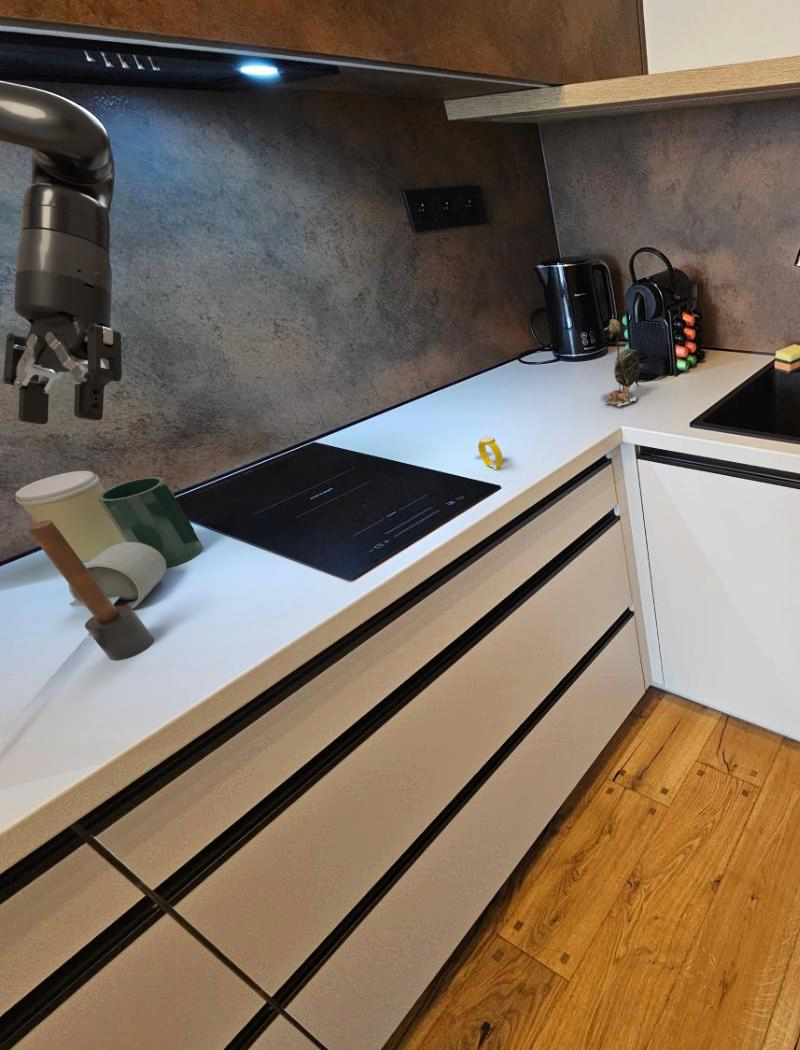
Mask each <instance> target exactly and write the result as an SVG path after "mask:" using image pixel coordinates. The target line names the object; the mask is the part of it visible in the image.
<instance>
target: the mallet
mask: <svg viewBox="0 0 800 1050" xmlns="http://www.w3.org/2000/svg"><path fill="white" fill-rule="evenodd" d="M26 530H27V531H28V533H29V534H30V535H31V536H32V538H33V539H34V540H35V542H36V543H37V544H38V545H39V547H40V548H41V549H42V551H43V552H44V553H45V554H46V555H47V558H48V559H49V561H51V562H52V564H53V565H54V567H55V568H56V569H57V570H58V572H59V573H60V574H61V575H62V577H63V578H64V579H65V581H66V582H67V583H68V585H69V584H70V586H71V587H72V588H73V590H74V591H75V592H76V594H77V595H78V596H79V597H80V599H81V600H82V601H83V603H84V604H85V605H86V607H85V608H86V609H88V611H89V612H90V613H91V614H92V616H91V617H90V618H89V619H88V620H87V621H86V622H85V624H84V628H85V629H86V631H87V632H88V633H89V635H90V636H91V637H92V638H93V640H94V641H95V642H96V643H97V644H98V646H99V647H100V649H101V650H102V651H103V652H104V653H105V655H106V656H107V657H108V659H110V660H112V661H121V660H125V659H128V658H132V657H134V656H136V655H138V654H140V653H142V652H144V651H145V650H147V649H148V648H149V647H150V646H151V645H152V644H153V643H154V637H153V635H152V634H151V632H150V631H149V630H148V628H147V627H146V625H145V624H144V622H143V621H142V620H141V618H140V617H139V616H138V614H137V613H136V612H135V610H134V608H133V609H132V607H130V606H117V607H115V606H114V605H113V604H114V603H113V602H112V601H111V600H110V597H107V595H106V594H105V593H104V591H103V590H102V589H101V587H100V586H99V584H98V583H97V582H96V580H95V579H94V578H93V576H92V575H91V574H90V572H89V571H88V569H87V568H86V567H85V563H84V562H82V561H81V560H80V559H79V557H78V556H77V554H76V553H75V552H74V550H73V549H72V548H71V546H70V545H69V544H68V542H67V541H66V540H65V538H64V537H63V535H62V534H61V533H60V531H59V530H58V529H57V527H56V526H55V525H54V523H53V522H52V521H51V520H45V521H40V522H35V523H31V524H30V525H28V526H27V528H26Z"/></svg>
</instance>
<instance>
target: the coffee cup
mask: <svg viewBox="0 0 800 1050" xmlns="http://www.w3.org/2000/svg"><path fill="white" fill-rule="evenodd" d="M105 490H106V489H105V488H104V487H103V484H102V483H101V479H100V477H99V476H98V475H97V474H95V473H94V472H92V471H89V470H75V471H69V472H64V473H60V474H55V475H52V476H49V477H45V478H41V479H39V480H36V481H34V482H30V483H29V484H26V485H25V486H23V487H21V488H19V489H18V490H17V491H16V492H15V501H16V503H18V505H20V506H22V507H23V509H24V510H25V511H26V512H27V513H28V514H29V516H30V517H31V518H32V519H33V520H34V522H35V523H37V522H40V521H45V520H51V521H52V522H53V523H54V525H55V526H56V527H57V529H58V530H59V531H60V533H61V534H62V535H63V537H64V538H65V540H66V541H67V542H68V544H69V545H70V546H71V548H72V549H73V550H74V552H75V553H76V554H77V556H78V557H79V559H80V560H81V561H82V563H87V562H89V561H90V560H92V559H93V558H95V557H96V556H98V555H99V554H100V553H102V552H103V551H105V550H106V549H108V548H109V547H112V546H114V545H116V544H120V543H124V542H126V541H125V539H124V538H123V536H122V535H121V533H120V532H119V530H118V529H117V527H116V526H115V524H114V523H113V521H112V520H111V518H110V517H109V516H108V514H107V513H106V511H105V510H104V508H103V507H102V505H101V504H100V502H99V501H98V495H100V494H101V493H102V492H103V491H105Z"/></svg>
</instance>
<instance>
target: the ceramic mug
mask: <svg viewBox="0 0 800 1050" xmlns="http://www.w3.org/2000/svg"><path fill="white" fill-rule="evenodd" d="M84 565H85V567H86V568H87V569H88V571H89V572H90V574H91V575H92V576H93V578H94V579H95V580H96V582H97V583H98V584H99V586H100V587H101V589H102V590H103V591H104V593H105V594H106V595H107V597H108V598H118V599H116V601H115V602H113V603H112V604H113V605H114V606H115V607H117V606H130V607H132V609H133V610H134V608H137V606H138V605H139V604H140V603H141V602H142V601H143V600H144V599H145V598H146V597H147V596H148V595H149V594H150V593H151V591H152V590H154V588H155V587H156V586H157V585H158V584H159V583H160V582H161V580H162V579H163V577H164V576H165V574H166V571H167V568H166V561H165V559H164V557H163V556H162V554H161V553H160V552H159V551H158V550H156V549H155V548H153V547H151V546H149V545H146V544H144V543H140V542H124V543H120V544H116V545H114V546H112V547H109V548H108V549H106V550H105V551H103V552H102V553H100V554H99V555H98V556H96V557H95V558H93V559H92V560H90V561H87V562H85V563H84ZM68 592H69V593H70V595H71V596H72V598H73V599H74V600H73V601H71V602H70V603H69V605H70V606H73V607H85V608H87V607H86V605H85V604H84V603H83V601H82V600H81V599H80V597H79V596H78V595H77V594H76V592H75V591H74V590H73V588H72V587H71V586H70V584H69V583H68Z"/></svg>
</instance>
